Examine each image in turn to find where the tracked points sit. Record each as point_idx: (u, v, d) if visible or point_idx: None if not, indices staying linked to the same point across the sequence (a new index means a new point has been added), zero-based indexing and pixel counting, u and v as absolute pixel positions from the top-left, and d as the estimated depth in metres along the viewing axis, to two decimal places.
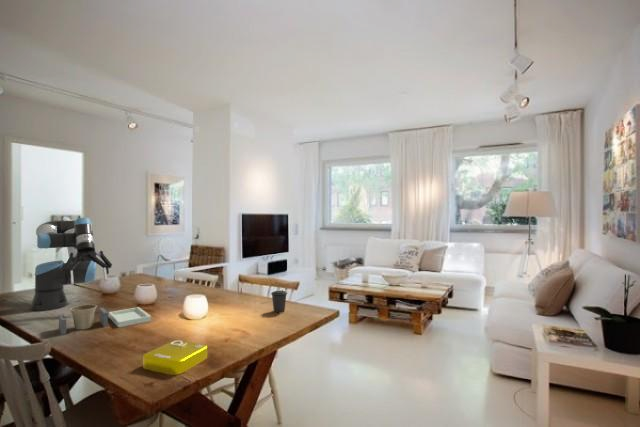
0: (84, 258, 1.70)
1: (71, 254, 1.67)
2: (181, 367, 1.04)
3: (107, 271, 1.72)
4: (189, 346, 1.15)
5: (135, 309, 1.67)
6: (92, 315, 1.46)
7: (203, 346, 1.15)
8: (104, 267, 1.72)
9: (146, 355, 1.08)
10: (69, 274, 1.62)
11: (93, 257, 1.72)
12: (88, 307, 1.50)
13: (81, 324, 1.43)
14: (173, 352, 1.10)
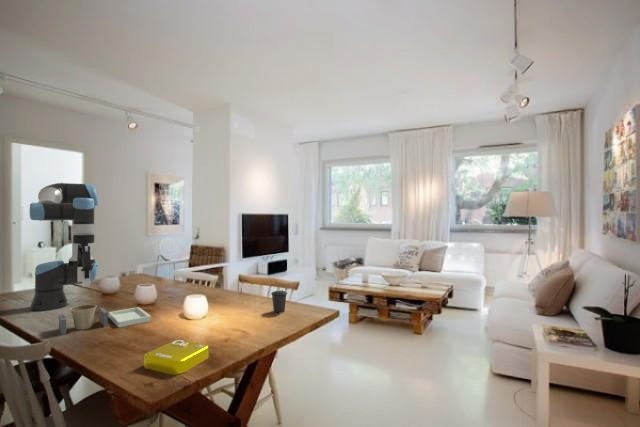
0: (80, 254, 1.46)
1: (78, 246, 1.50)
2: (182, 367, 1.04)
3: (84, 276, 1.39)
4: (190, 345, 1.16)
5: (135, 309, 1.67)
6: (92, 315, 1.46)
7: (204, 346, 1.15)
8: (82, 270, 1.40)
9: (147, 355, 1.08)
10: None
11: (79, 255, 1.43)
12: (88, 307, 1.50)
13: (81, 324, 1.43)
14: (174, 352, 1.10)
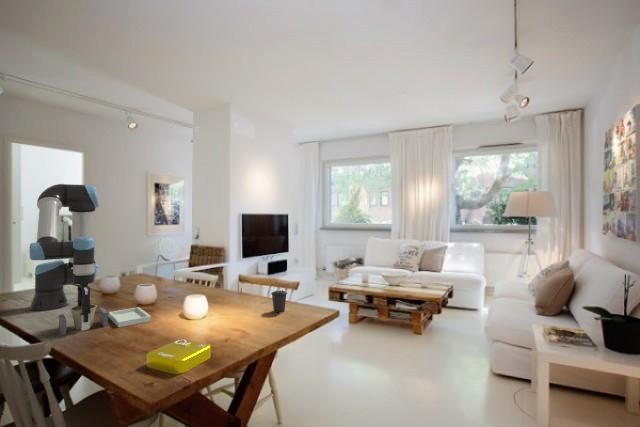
0: None
1: (78, 287, 1.49)
2: (184, 366, 1.05)
3: (83, 320, 1.41)
4: (193, 345, 1.16)
5: (135, 309, 1.67)
6: (92, 315, 1.46)
7: (206, 345, 1.15)
8: (81, 314, 1.41)
9: (150, 354, 1.09)
10: None
11: (79, 296, 1.43)
12: None
13: None
14: (176, 351, 1.11)
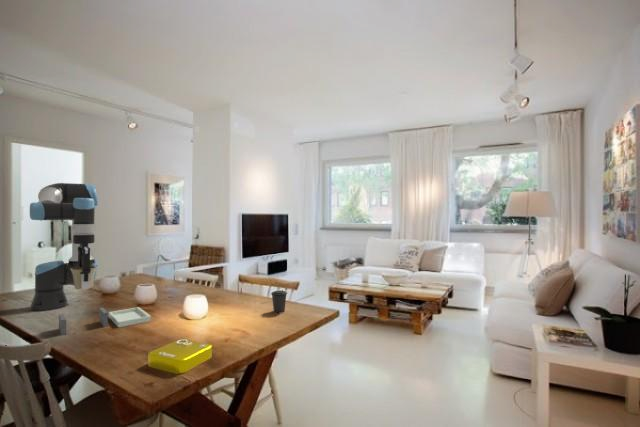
0: (80, 254, 1.46)
1: (78, 248, 1.49)
2: (184, 366, 1.05)
3: (84, 279, 1.41)
4: (194, 345, 1.16)
5: (135, 309, 1.67)
6: (92, 275, 1.46)
7: (207, 345, 1.15)
8: (81, 273, 1.42)
9: (151, 353, 1.09)
10: None
11: (79, 255, 1.43)
12: None
13: (81, 283, 1.43)
14: (177, 351, 1.11)
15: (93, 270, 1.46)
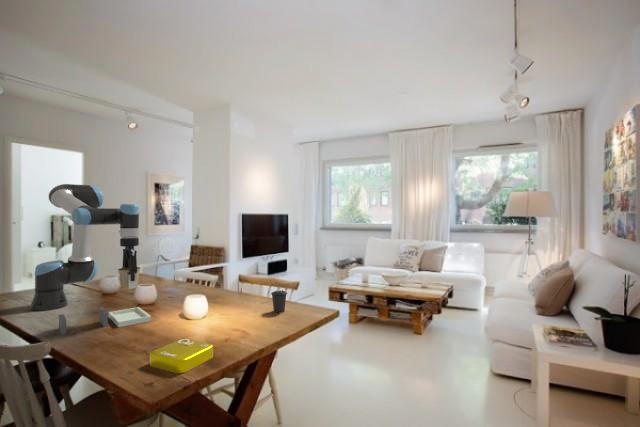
0: (126, 255, 1.58)
1: (123, 251, 1.61)
2: (185, 366, 1.05)
3: (131, 278, 1.53)
4: (195, 344, 1.16)
5: (135, 309, 1.67)
6: (137, 276, 1.58)
7: (209, 345, 1.16)
8: None
9: (152, 353, 1.09)
10: None
11: (126, 257, 1.55)
12: None
13: (128, 283, 1.54)
14: (179, 350, 1.11)
15: (138, 271, 1.57)
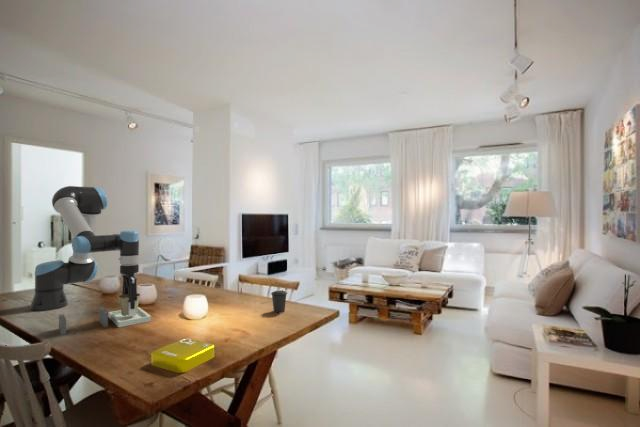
0: (126, 282, 1.58)
1: (123, 277, 1.61)
2: (186, 366, 1.05)
3: (130, 306, 1.53)
4: (197, 344, 1.17)
5: None
6: (137, 303, 1.58)
7: (210, 345, 1.16)
8: (128, 301, 1.53)
9: (154, 352, 1.10)
10: None
11: (126, 284, 1.55)
12: None
13: (128, 310, 1.54)
14: (180, 350, 1.11)
15: (138, 298, 1.57)
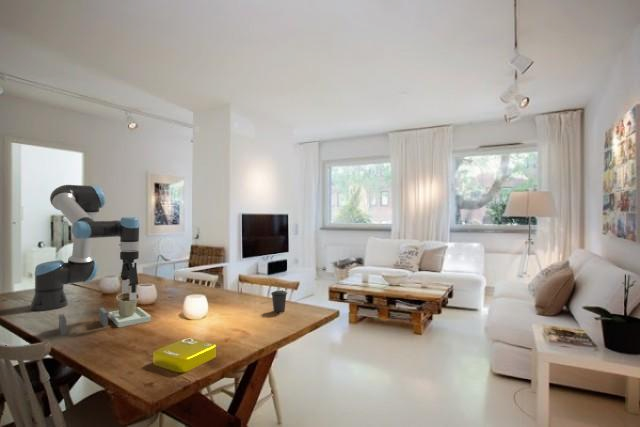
0: (126, 269, 1.58)
1: None
2: (187, 365, 1.05)
3: (131, 290, 1.51)
4: (199, 344, 1.17)
5: (135, 309, 1.67)
6: (135, 305, 1.60)
7: (211, 345, 1.16)
8: None
9: (156, 351, 1.10)
10: None
11: (126, 270, 1.55)
12: None
13: (125, 312, 1.57)
14: (182, 350, 1.12)
15: (136, 300, 1.59)
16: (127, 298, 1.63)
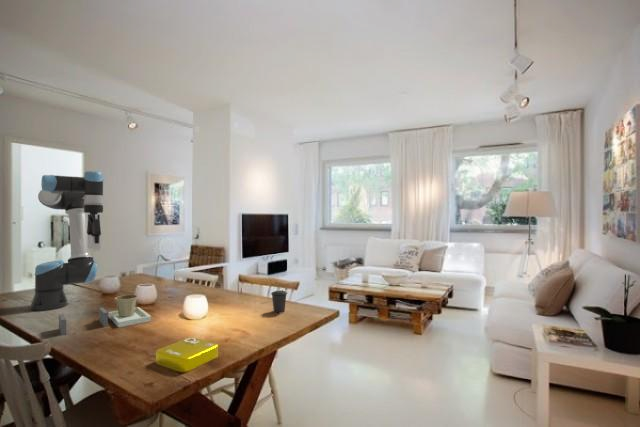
0: None
1: (88, 216, 1.65)
2: (189, 365, 1.06)
3: (95, 241, 1.55)
4: (201, 343, 1.17)
5: (135, 309, 1.67)
6: (134, 304, 1.60)
7: (214, 345, 1.16)
8: (92, 236, 1.56)
9: (158, 351, 1.11)
10: None
11: (90, 222, 1.59)
12: (130, 297, 1.65)
13: (124, 312, 1.57)
14: (184, 349, 1.12)
15: (134, 299, 1.60)
16: None
